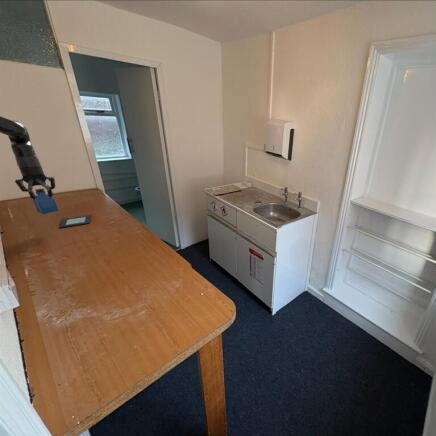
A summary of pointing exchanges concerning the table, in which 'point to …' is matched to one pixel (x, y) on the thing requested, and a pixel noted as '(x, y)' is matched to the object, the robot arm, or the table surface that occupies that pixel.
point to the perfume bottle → (44, 202)
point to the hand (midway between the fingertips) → (42, 197)
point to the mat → (75, 221)
